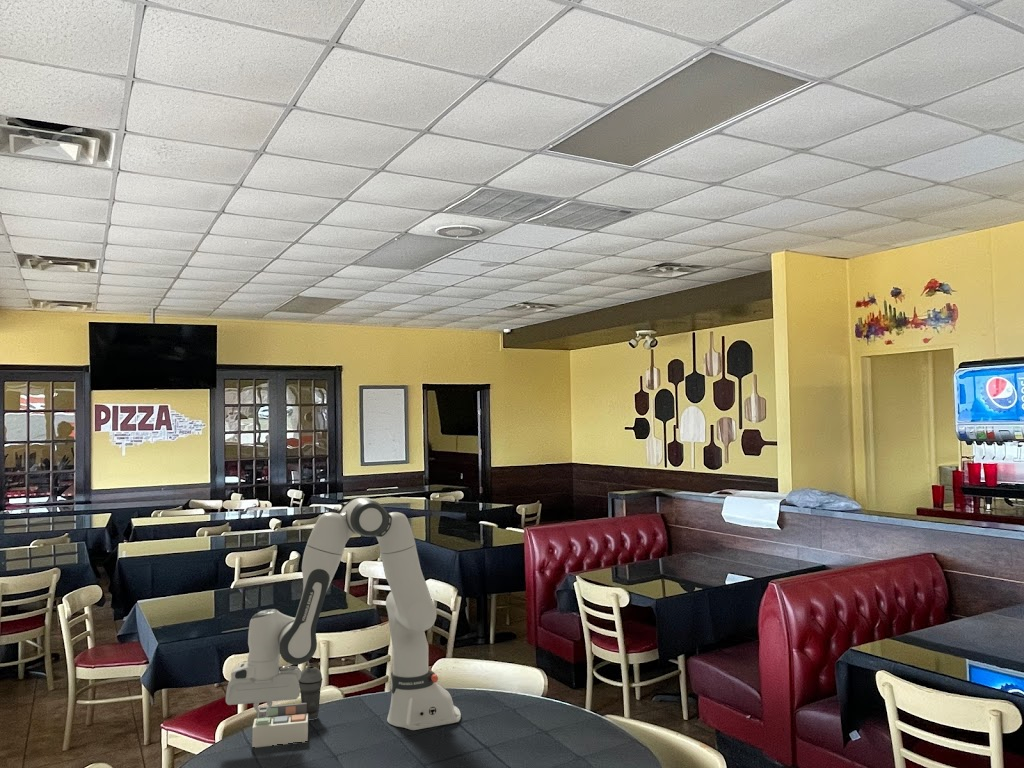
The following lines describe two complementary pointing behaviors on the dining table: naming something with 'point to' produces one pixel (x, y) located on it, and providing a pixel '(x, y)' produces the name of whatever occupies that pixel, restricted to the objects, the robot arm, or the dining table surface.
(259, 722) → the key sage
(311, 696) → the beverage cup
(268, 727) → the keypad console
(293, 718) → the key terracotta
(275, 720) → the key slate
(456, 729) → the dining table surface
